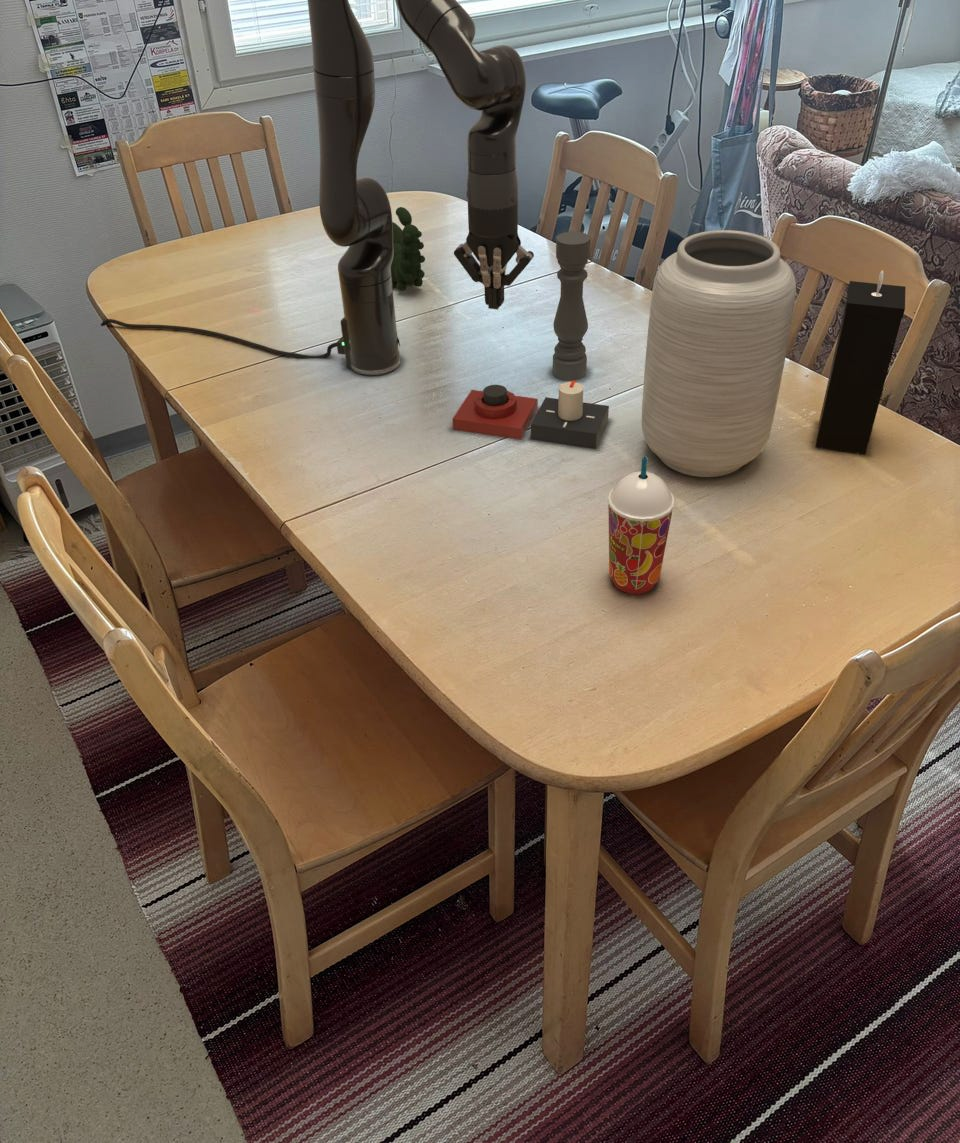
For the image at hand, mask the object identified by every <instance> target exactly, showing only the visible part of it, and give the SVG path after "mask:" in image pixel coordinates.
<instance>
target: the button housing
mask: <svg viewBox="0 0 960 1143" xmlns="http://www.w3.org/2000/svg"><path fill="white" fill-rule="evenodd" d="M538 402H539V398H535V397H530V396H529V397H528V396H522V395H521V396H520V395H515V393H513V392H511V391H509V390H507V403H506V404H504V405H501V406H488V405H486V404H485V403H484V400H483V390H476V389H471V390H470V392H469V393H468V395H467V396H466V398H465V399H464V401H463V402H462V403H461V405H460V406H459V408H458V410H456V412H455V414H454V416H453V417H452V430H454V431H461V432H467V433H473V434H481V435H486V436H487V435H488V436H494V437H500V438H508V439H514V440H520V441H521V440H522V439H523V437H524V435H525V434H526V432H527V430H528V428H529V426H531V423H532V421H533V419H534V417H535V416H536V414H537V412H538V410H539V407H538V406H539V403H538Z"/></svg>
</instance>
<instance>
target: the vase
mask: <svg viewBox="0 0 960 1143" xmlns="http://www.w3.org/2000/svg"><path fill="white" fill-rule="evenodd" d="M796 294H797V282H796V277H795V274H794V271H793V269H792V268H791V267H790V265H789V264H788V263H787V262H786V261H785V260H784V259H782V258H781V250H780V248H779V246H778V245H777V243H775V242H774V241H772V240H771V239H769V238H768V237H765V236H762V235H760V234H757V233H753V232H748V231H743V230H742V231H741V230H732V229H715V230H706V231H702V232H698V233H694V234H691V235H689V236H687V237H685V238H684V239H683V240H682V241H680V243H679V244H678V246H677V249H676V252H674V253H672V254H670V255H669V256H668V257H666V258H665V259H664V260H663V261H662V263H660V265H659V267H658V268H657V271H656V273H655V276H654V279H653V284H652V290H651V299H650V305H649V316H648V325H647V326H648V327H647V336H646V337H647V338H646V347H645V348H646V349H645V362H644V371H643V388H642V398H641V399H642V400H641V431H642V435H643V438H644V440H645V443H646V445H648V447H649V449H650V450H651V451H652V452H653V453H654V454H655V455H656V456H657V457H658V458H659V459H660V461H661V462H662V463H663V464H665V465H666V466H667V467H669V468H670V469H672V470H673V471H676V472H678V473H681V474H683V475H687V476H691V477H692V476H693V477H699V478H717V477H722V476H726V475H729V474H732V473H734V472H736V471H738V470H739V469H740V468H742V467H743V466H745V465H747V464H749V463H750V462H752V461H753V460H754V459H756V458H757V457H758V456H759V454H761V452H763V450H764V448H765V447H766V445H767V443H768V442H769V439H770V435H771V431H772V429H773V428H772V427H773V424H774V419H775V415H776V414H775V413H776V408H777V404H778V398H779V395H780V390H781V384H782V379H783V378H782V377H783V372H784V367H785V362H786V355H787V350H788V345H789V340H790V334H791V328H792V322H793V316H794V310H795V309H794V308H795V302H796Z"/></svg>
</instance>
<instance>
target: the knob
mask: <svg viewBox="0 0 960 1143" xmlns="http://www.w3.org/2000/svg"><path fill="white" fill-rule="evenodd" d="M557 399H558V415H559V417H560V418H561V419H563V420H567V421H574V420H578V419H580V418H581V417H582V414H583V402H584V386H583V384H581V383H579V382H577V381H576V380H572V381H564V382H563V383H561V384H559V386H558V398H557Z"/></svg>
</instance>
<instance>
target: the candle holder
mask: <svg viewBox="0 0 960 1143" xmlns="http://www.w3.org/2000/svg"><path fill="white" fill-rule="evenodd" d="M590 255H591V236H590V235H589V234H587V233H585V232H582V231H566V232H561V233H560V234H557V236H555V258H556V260H557V264H558V265H559V268H560V269H559V270H558V271H557V272H556V278H557V279H558V280H559V282H560V295H559V300H558V304H557V309H556V312H555V316H554V320H553V323H552V324H553V331H554V334H555V335H556V337H557V340H558V342H557V343H556V344H555V346H554V347H553V350H554V353H553V354H552V375H553V377H554V378H555V379H558V380H560V381H564V382H572V380H575V381H578V380H582V379H584V378H585V376H586V375H587V367H588V366H587V365H588V356H587V353H586V352H587V349H586V346H585V345H584V343H583V342H582V341H583V340H584V337H585V335H586V333H587V332H588V329H589V322H588V317H587V313H586V307H585V301H584V297H583V296H584V282H585V280H586V279H587V278H588V271H587V270H586V269H585V268H586V265H587V264H588V262H589V259H590Z"/></svg>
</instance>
